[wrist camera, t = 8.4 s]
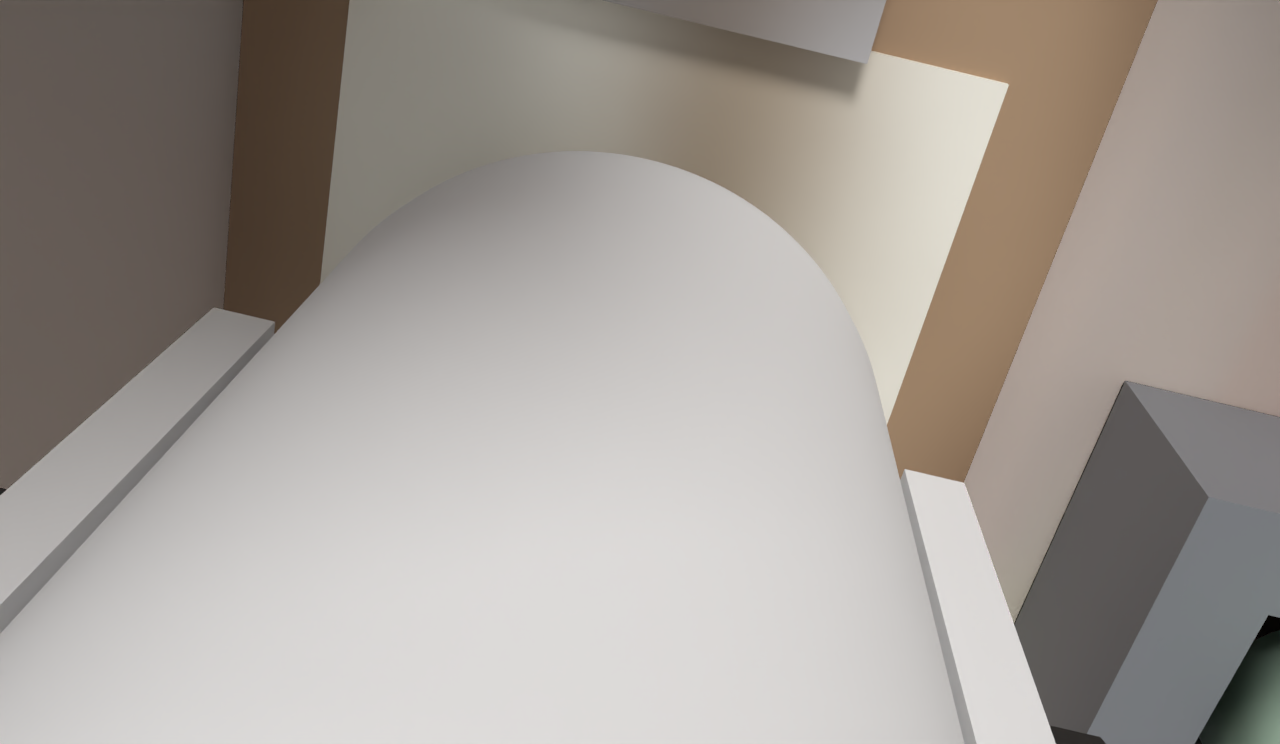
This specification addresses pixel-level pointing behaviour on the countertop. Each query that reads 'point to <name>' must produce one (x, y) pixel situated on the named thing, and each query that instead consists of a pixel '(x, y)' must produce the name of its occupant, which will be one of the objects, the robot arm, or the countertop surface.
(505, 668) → the pill bottle
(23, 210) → the countertop surface
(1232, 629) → the button housing
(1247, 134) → the countertop surface
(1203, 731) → the button
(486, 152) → the clipboard
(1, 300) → the countertop surface
